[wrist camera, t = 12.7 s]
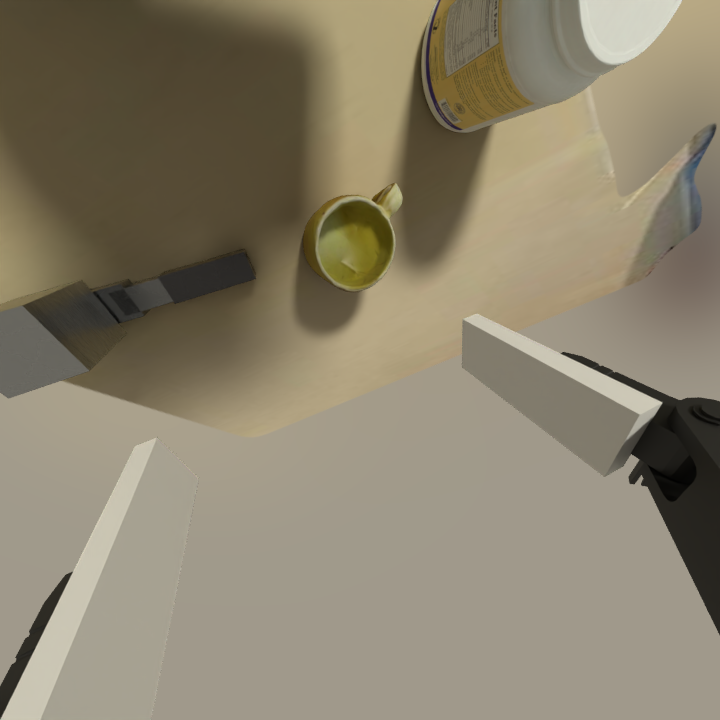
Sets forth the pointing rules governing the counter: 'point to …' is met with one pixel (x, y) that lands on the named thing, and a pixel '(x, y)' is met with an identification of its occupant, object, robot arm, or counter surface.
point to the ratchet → (175, 285)
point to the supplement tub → (527, 53)
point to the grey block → (53, 337)
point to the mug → (353, 239)
